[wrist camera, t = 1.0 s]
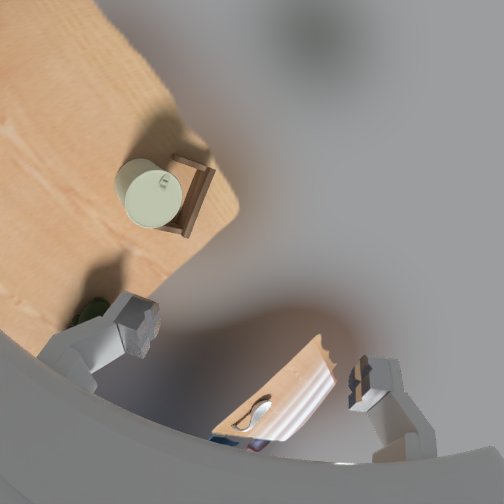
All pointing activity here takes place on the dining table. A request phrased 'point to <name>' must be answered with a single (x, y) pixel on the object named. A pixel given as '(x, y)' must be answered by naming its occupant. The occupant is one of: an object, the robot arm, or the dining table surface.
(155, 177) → the can
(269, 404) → the spoon rest
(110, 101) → the dining table surface
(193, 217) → the holder
